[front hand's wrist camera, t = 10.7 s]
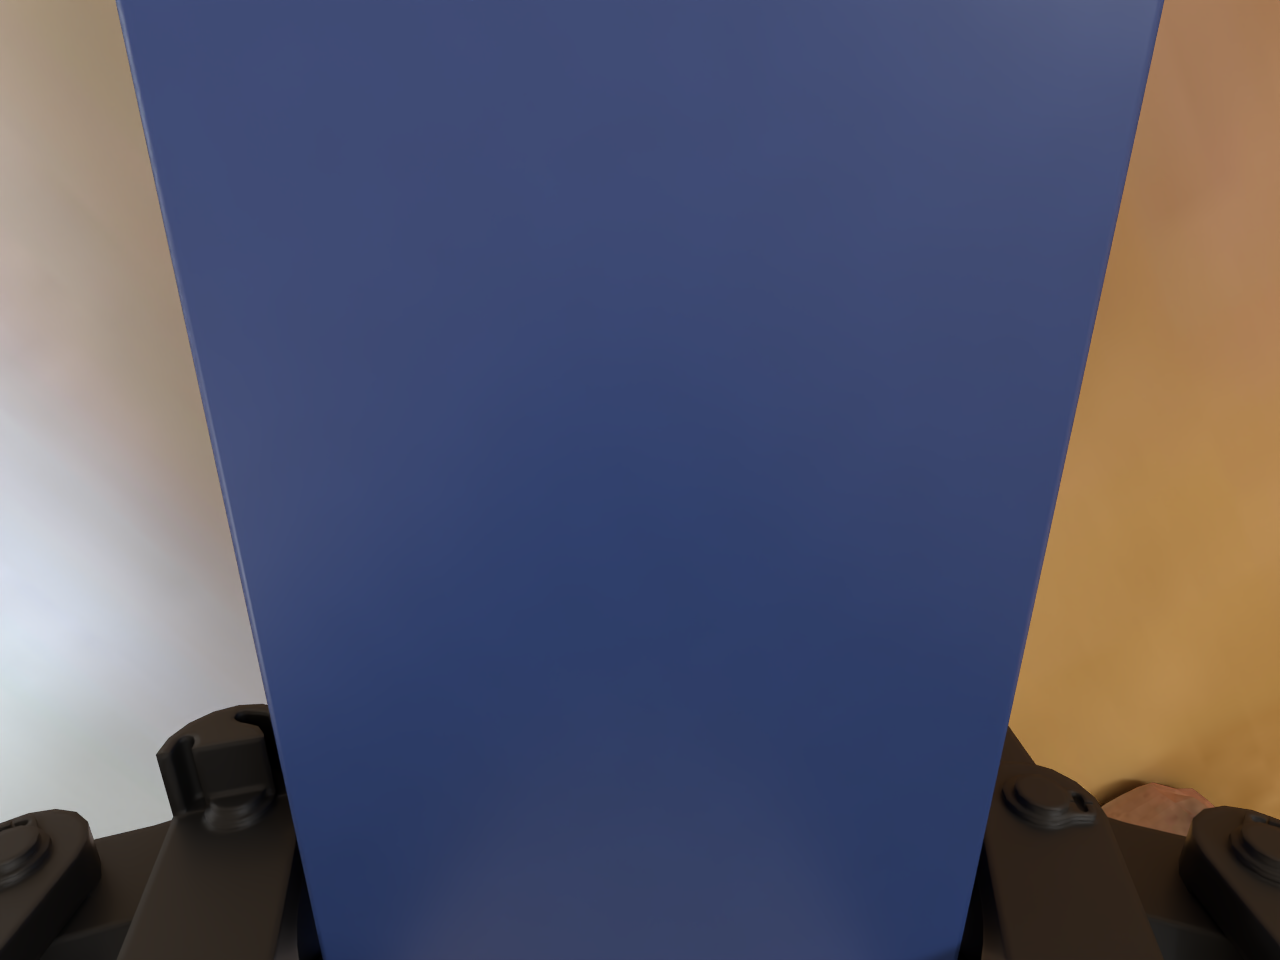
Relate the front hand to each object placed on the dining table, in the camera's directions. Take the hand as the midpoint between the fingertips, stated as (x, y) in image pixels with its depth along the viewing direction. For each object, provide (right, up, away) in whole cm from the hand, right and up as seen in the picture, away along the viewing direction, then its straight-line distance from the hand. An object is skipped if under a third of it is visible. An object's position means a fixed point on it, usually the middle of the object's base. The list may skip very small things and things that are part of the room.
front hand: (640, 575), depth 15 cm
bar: (0, +10, -3) cm, 10 cm away
